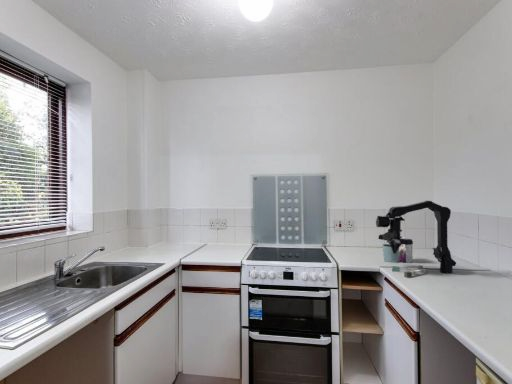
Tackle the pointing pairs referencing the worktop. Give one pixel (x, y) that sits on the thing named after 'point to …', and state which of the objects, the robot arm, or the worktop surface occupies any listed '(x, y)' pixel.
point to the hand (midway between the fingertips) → (394, 253)
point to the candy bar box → (405, 253)
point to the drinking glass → (390, 254)
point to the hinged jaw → (402, 269)
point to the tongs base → (414, 272)
